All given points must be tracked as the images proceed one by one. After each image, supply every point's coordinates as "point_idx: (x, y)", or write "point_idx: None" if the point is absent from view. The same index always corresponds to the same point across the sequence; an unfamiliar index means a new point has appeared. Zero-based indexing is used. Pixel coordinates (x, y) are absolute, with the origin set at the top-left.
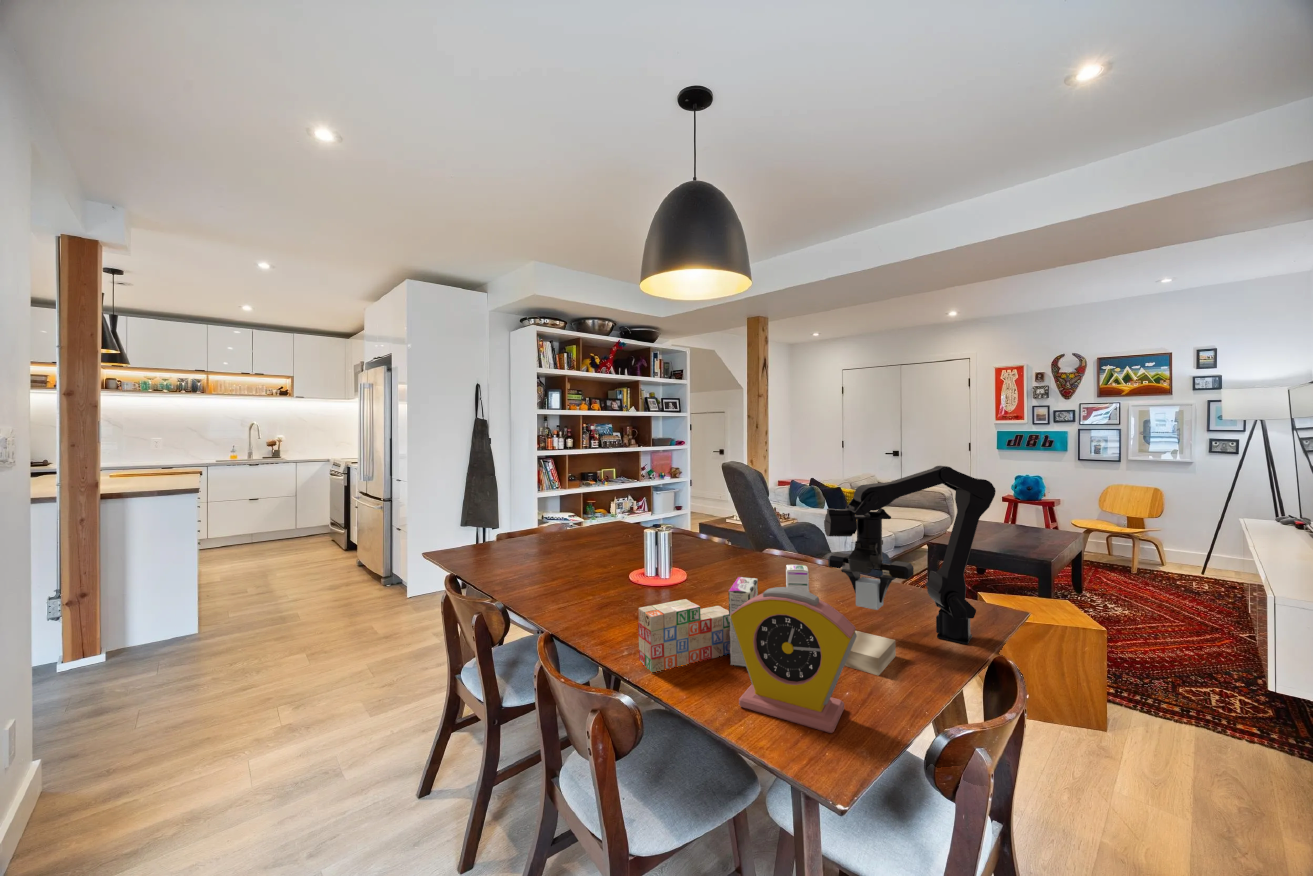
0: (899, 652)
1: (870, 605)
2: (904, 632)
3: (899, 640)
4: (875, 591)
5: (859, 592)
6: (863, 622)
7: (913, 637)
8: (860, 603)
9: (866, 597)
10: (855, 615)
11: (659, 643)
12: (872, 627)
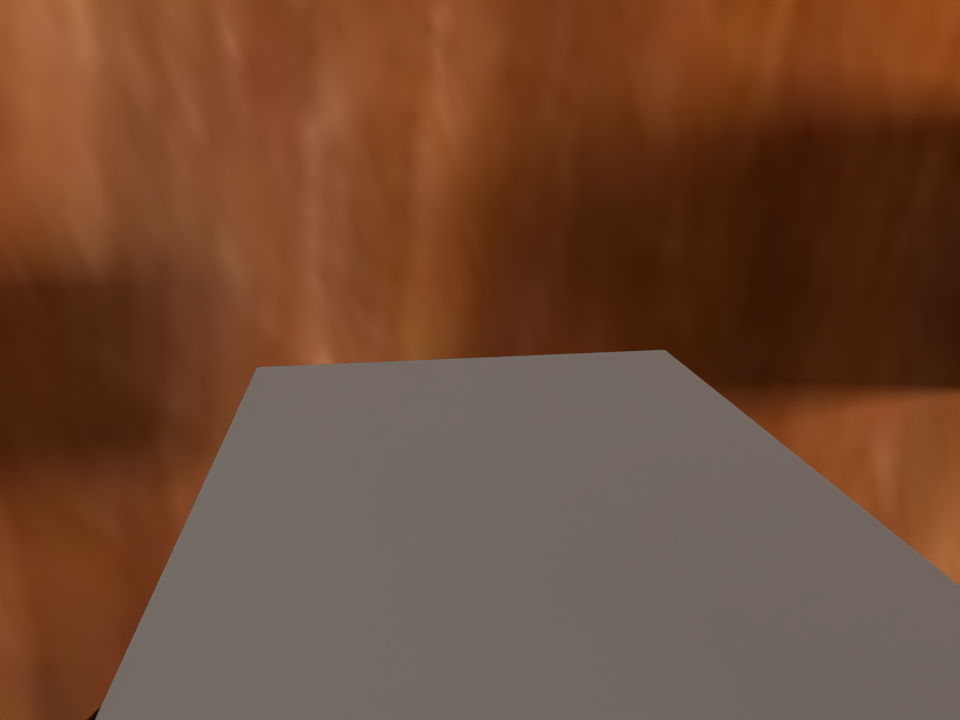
0: (6, 114)
1: (388, 385)
2: None
3: (165, 436)
4: (192, 651)
5: (734, 499)
6: None
7: (103, 585)
8: (598, 379)
9: (501, 456)
10: None
11: None
12: None
